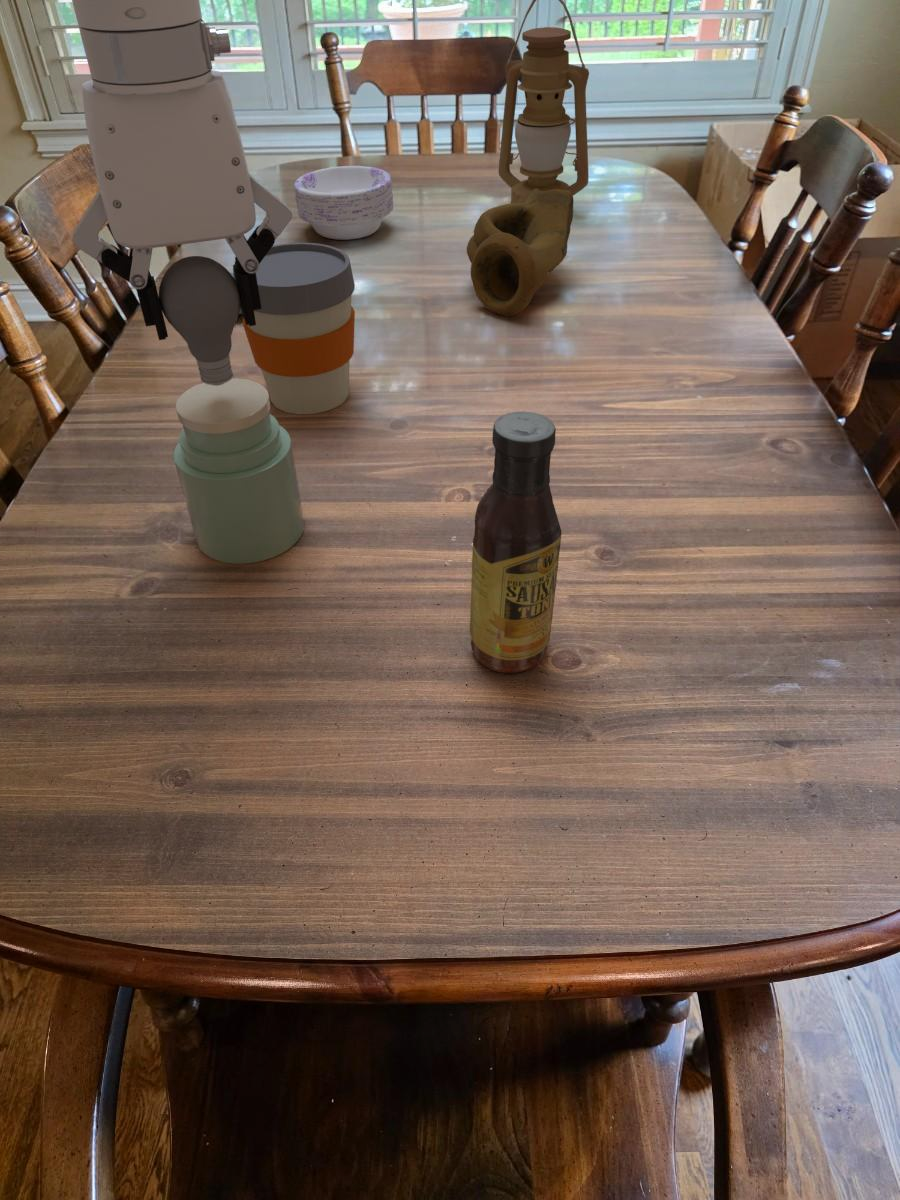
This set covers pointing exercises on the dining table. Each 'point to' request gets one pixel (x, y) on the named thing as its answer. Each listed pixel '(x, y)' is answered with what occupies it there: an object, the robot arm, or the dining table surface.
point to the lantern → (544, 113)
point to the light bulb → (203, 312)
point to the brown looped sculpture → (519, 248)
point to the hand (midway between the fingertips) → (205, 323)
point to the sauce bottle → (515, 548)
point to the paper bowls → (344, 200)
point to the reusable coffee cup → (304, 326)
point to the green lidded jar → (237, 473)
